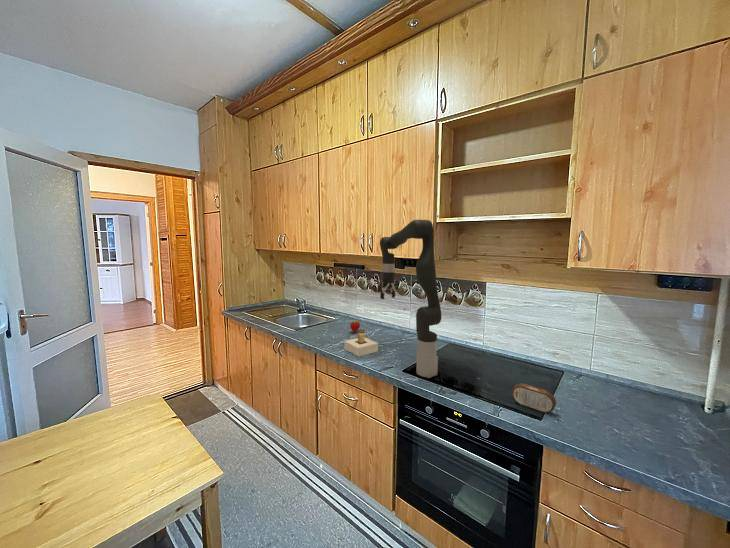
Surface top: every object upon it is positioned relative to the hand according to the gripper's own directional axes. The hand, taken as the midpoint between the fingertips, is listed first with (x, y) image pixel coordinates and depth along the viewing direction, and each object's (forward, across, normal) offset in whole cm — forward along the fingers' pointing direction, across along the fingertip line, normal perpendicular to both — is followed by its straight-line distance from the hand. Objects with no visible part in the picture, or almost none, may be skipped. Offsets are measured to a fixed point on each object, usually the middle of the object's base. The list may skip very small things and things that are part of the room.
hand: (387, 298), depth 178 cm
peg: (+30, -16, +5) cm, 34 cm away
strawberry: (+30, 0, +34) cm, 45 cm away
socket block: (+30, -16, +5) cm, 34 cm away
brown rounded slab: (+30, +3, -83) cm, 88 cm away
